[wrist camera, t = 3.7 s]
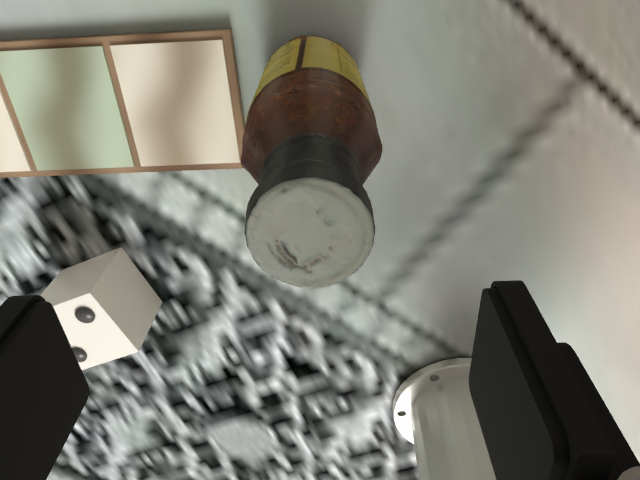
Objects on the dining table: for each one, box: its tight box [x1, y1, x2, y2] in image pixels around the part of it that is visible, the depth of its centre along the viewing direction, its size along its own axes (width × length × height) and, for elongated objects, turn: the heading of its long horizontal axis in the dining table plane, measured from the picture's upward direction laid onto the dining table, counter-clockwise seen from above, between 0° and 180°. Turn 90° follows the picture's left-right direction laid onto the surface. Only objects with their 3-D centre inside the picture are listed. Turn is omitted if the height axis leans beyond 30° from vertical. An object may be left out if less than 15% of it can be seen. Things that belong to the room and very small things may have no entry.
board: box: [0, 28, 245, 178], centre depth 33 cm, size 23×9×1 cm, turn 93°
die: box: [40, 247, 162, 370], centre depth 39 cm, size 6×6×6 cm
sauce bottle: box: [241, 36, 382, 288], centre depth 23 cm, size 7×6×20 cm
